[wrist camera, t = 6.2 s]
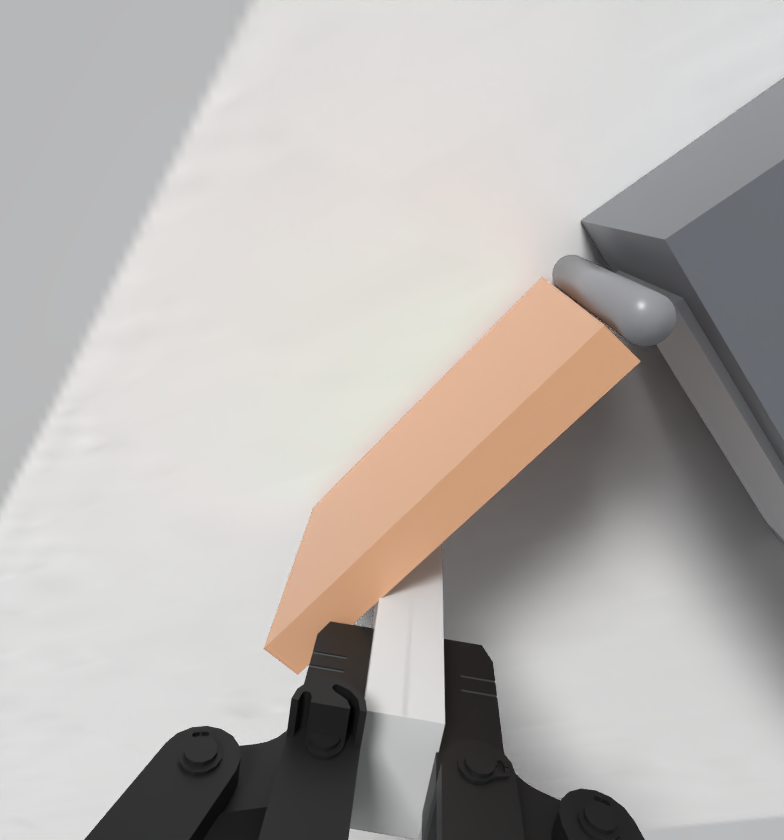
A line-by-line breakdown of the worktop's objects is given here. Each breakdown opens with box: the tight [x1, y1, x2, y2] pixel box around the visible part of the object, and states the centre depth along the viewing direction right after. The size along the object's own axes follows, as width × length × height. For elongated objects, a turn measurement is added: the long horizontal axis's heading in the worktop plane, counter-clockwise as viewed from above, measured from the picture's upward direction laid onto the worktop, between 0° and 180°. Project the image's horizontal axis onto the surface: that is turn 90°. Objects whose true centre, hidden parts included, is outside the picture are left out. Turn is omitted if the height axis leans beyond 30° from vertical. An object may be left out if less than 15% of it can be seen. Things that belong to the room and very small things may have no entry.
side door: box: [264, 255, 676, 674], centre depth 17 cm, size 11×1×7 cm, turn 137°
